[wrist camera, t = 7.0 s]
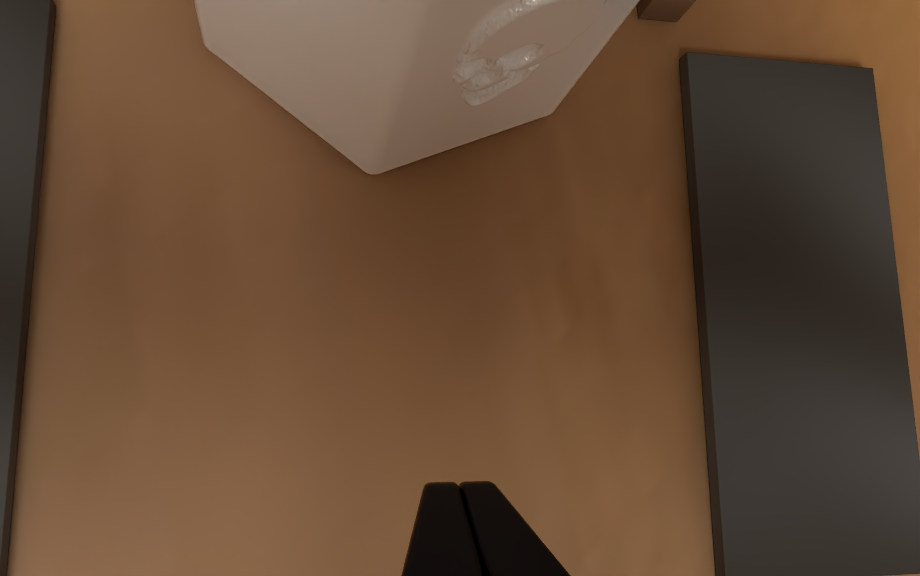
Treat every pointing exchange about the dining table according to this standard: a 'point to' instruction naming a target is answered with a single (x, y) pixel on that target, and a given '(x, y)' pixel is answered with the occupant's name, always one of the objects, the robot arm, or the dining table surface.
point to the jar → (410, 65)
